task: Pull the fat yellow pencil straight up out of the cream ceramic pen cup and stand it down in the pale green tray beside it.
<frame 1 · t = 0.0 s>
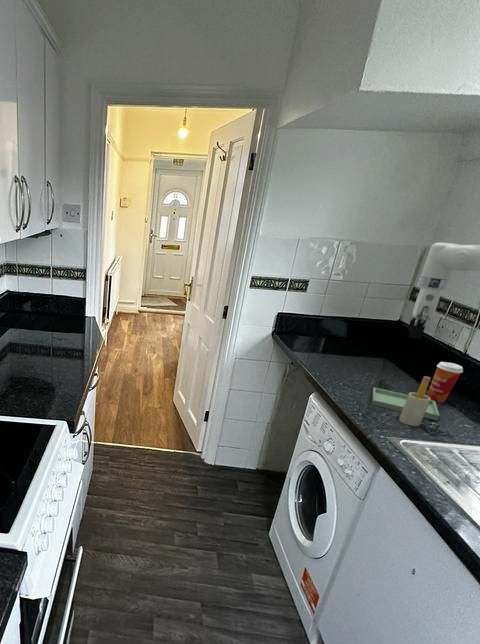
hand: (413, 334, 140), 26 cm above the counter, tool pointing down, fingers open, 9 cm apart
paper cup: (435, 399, 156), on the counter
pencil: (409, 421, 137), point 1 cm above the counter, touching pen cup
tray: (402, 405, 150), on the counter
pen cup: (408, 423, 137), on the counter
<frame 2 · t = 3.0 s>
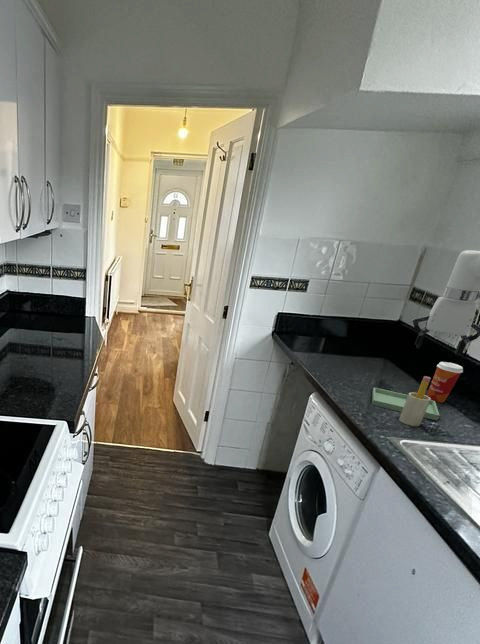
hand: (436, 350, 127), 25 cm above the counter, tool pointing down, fingers open, 9 cm apart
nothing on the counter moved.
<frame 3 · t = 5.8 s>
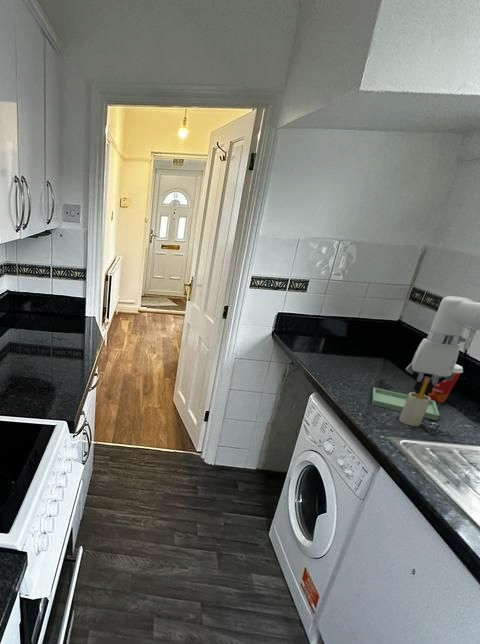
hand: (421, 393, 132), 11 cm above the counter, tool pointing down, fingers closed on pencil, 1 cm apart
pencil: (409, 421, 136), point 1 cm above the counter, touching gripper
everything else where it was.
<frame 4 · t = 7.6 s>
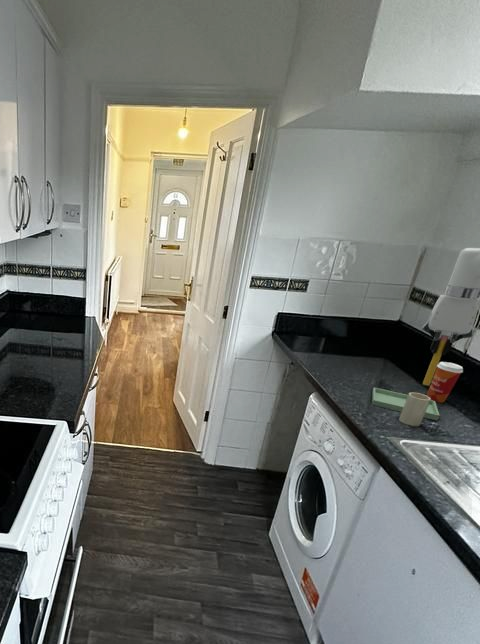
hand: (438, 352, 127), 25 cm above the counter, tool pointing down, fingers closed on pencil
pencil: (426, 384, 131), point 14 cm above the counter, touching gripper
everything else where it was.
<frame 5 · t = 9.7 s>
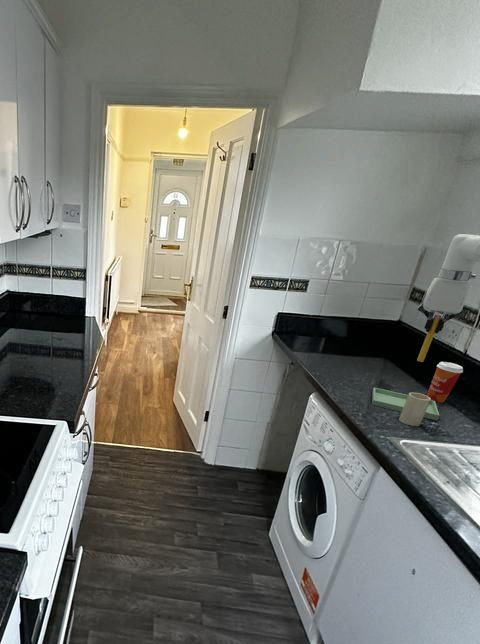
hand: (431, 331, 138), 28 cm above the counter, tool pointing down, fingers closed on pencil
pencil: (420, 360, 142), point 17 cm above the counter, touching gripper
everything else where it was.
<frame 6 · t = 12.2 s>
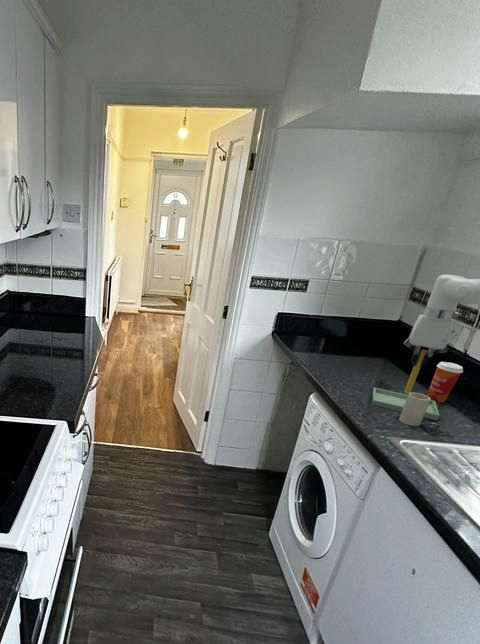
hand: (417, 365, 144), 16 cm above the counter, tool pointing down, fingers closed on pencil
pencil: (407, 392, 148), point 5 cm above the counter, touching gripper
everything else where it was.
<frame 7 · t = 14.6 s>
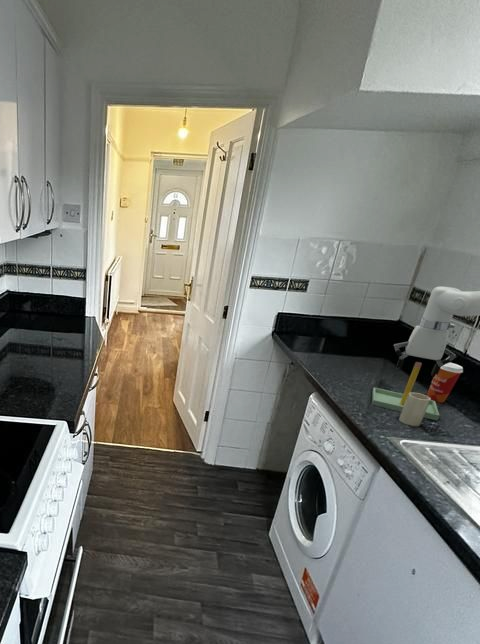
hand: (415, 372, 145), 13 cm above the counter, tool pointing down, fingers open, 9 cm apart
pencil: (402, 404, 150), resting on tray
everything else where it was.
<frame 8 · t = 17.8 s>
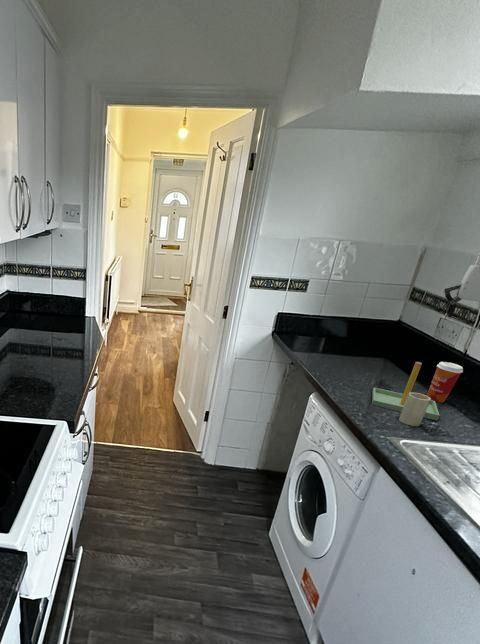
hand: (468, 319, 129), 34 cm above the counter, tool pointing down, fingers open, 9 cm apart
nothing on the counter moved.
at the end: pencil inside the target area in the tray (0.1 cm from its centre), point 0.5 cm above the tray's base; pencil touching tray; the gripper is holding nothing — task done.
